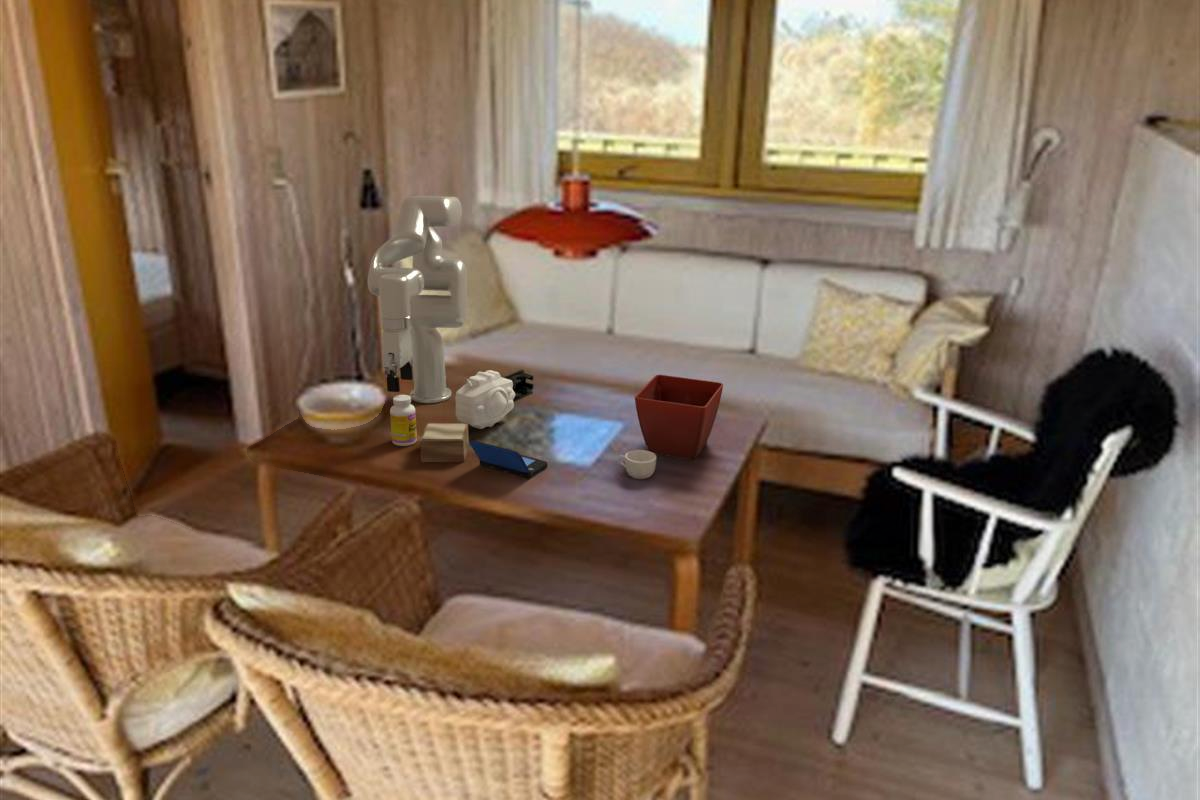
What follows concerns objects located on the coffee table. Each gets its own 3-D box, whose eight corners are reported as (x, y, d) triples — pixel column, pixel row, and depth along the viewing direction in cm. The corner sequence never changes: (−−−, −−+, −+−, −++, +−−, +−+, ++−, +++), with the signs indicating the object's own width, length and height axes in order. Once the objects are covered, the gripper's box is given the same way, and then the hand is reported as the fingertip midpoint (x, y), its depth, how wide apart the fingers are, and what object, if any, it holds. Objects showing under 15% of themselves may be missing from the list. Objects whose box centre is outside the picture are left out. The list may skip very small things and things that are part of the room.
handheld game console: (549, 467, 237) (549, 434, 233) (519, 487, 226) (519, 452, 222) (500, 453, 244) (499, 421, 240) (468, 472, 233) (467, 438, 230)
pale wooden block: (427, 444, 248) (426, 422, 246) (468, 444, 248) (467, 422, 246) (421, 461, 238) (420, 439, 236) (464, 461, 238) (463, 439, 236)
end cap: (516, 388, 289) (516, 367, 287) (534, 392, 286) (534, 372, 283) (495, 397, 282) (495, 376, 279) (513, 402, 278) (513, 381, 275)
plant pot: (631, 456, 243) (633, 396, 237) (654, 429, 259) (656, 373, 253) (701, 468, 236) (705, 407, 230) (720, 440, 253) (724, 383, 247)
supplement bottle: (411, 448, 246) (408, 403, 241) (388, 445, 247) (384, 401, 242) (421, 438, 252) (418, 394, 247) (398, 435, 253) (395, 392, 248)
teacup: (660, 472, 234) (661, 453, 232) (648, 484, 227) (649, 465, 225) (624, 464, 238) (624, 445, 236) (611, 476, 231) (612, 457, 229)
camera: (450, 430, 257) (448, 376, 251) (495, 411, 271) (493, 360, 265) (479, 440, 251) (477, 385, 245) (523, 420, 264) (522, 368, 259)
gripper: (394, 313, 246) (398, 374, 252) (369, 330, 230) (374, 395, 235) (421, 314, 245) (424, 376, 251) (398, 332, 229) (402, 397, 234)
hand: (400, 385), depth 243 cm, fingers open, 9 cm apart
